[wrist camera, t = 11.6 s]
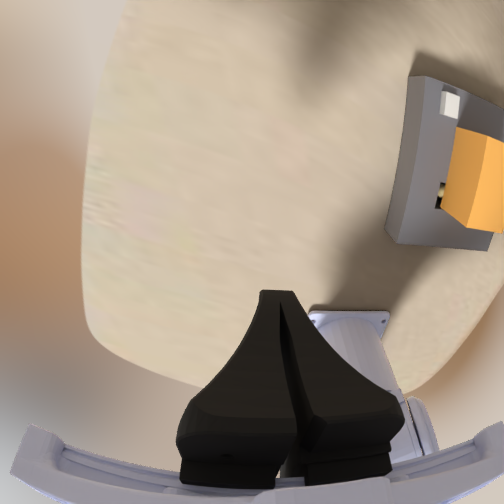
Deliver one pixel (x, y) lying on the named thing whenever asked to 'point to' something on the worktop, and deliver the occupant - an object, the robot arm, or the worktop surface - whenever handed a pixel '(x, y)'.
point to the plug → (475, 182)
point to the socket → (435, 163)
